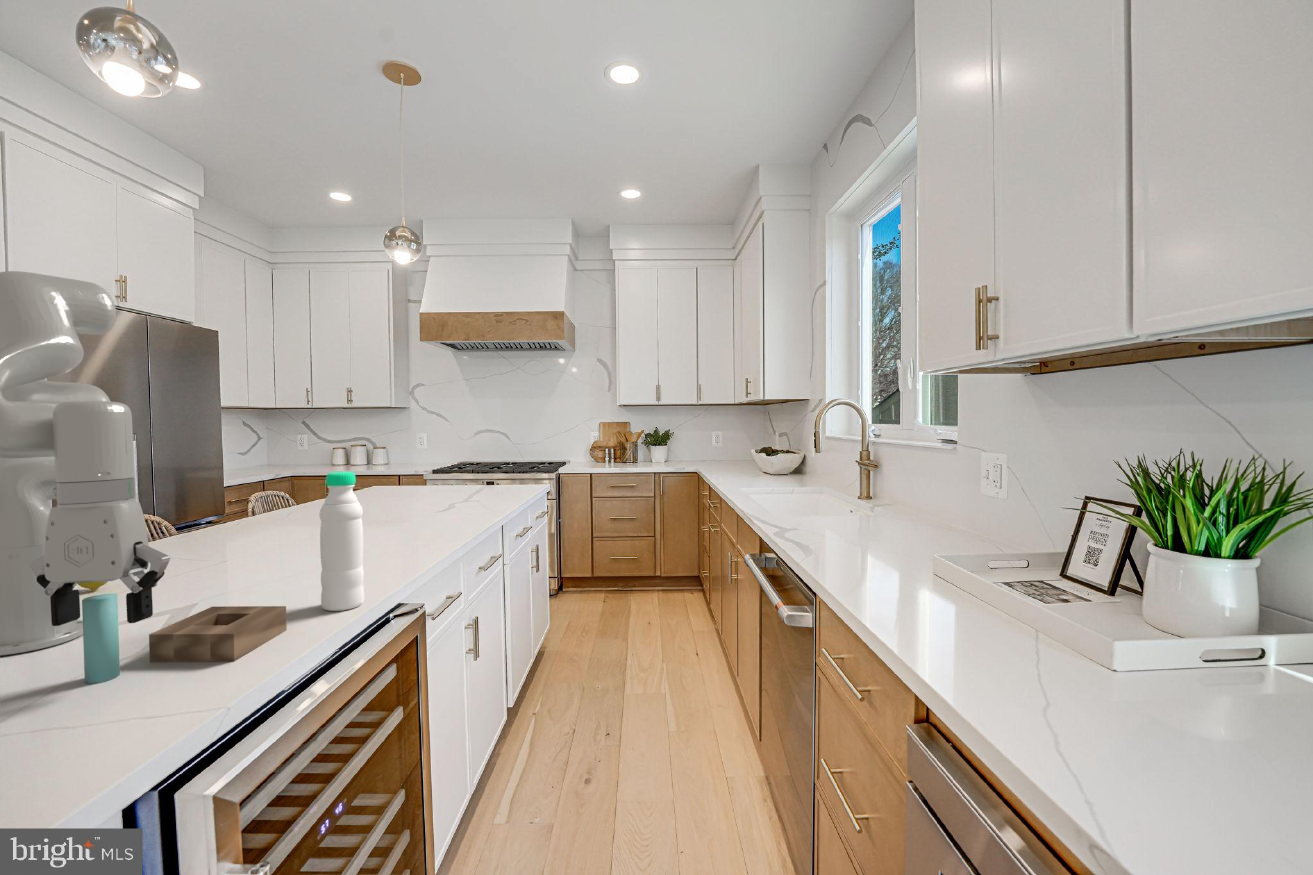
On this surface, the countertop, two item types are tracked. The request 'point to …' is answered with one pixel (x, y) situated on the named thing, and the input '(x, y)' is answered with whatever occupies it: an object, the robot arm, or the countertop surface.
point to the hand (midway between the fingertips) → (103, 621)
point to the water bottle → (341, 545)
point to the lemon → (92, 585)
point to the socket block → (217, 634)
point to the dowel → (100, 638)
